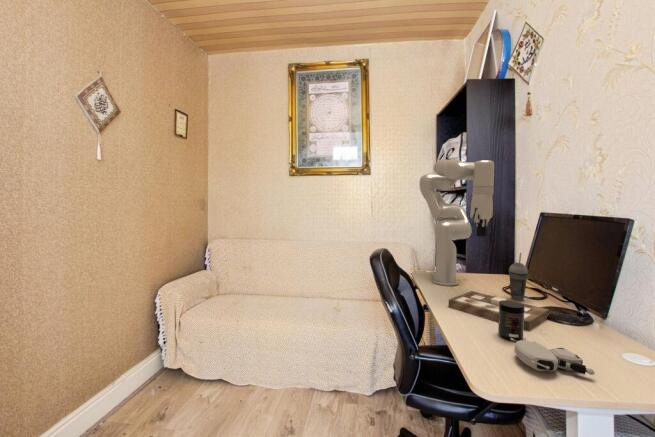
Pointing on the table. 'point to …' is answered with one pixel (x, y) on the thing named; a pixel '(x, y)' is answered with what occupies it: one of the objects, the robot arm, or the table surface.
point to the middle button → (496, 300)
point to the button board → (495, 309)
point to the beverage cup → (518, 280)
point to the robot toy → (549, 358)
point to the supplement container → (511, 320)
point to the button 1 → (477, 297)
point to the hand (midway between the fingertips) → (481, 236)
